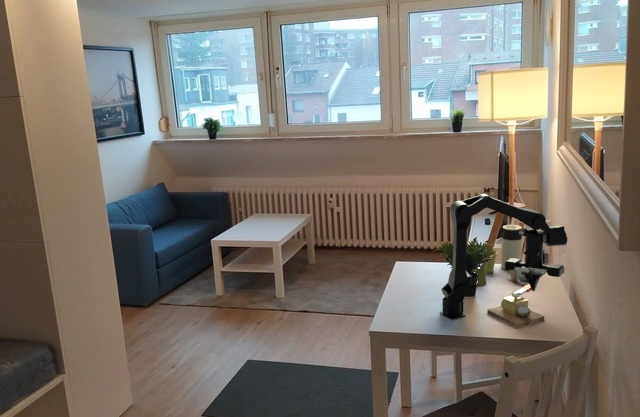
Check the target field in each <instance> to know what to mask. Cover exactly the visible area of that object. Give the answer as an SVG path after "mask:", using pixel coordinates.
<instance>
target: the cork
mask: <svg viewBox="0 0 640 417" xmlns="http://www.w3.org/2000/svg"><path fill="white" fill-rule="evenodd" d="M485 263H486V262H485ZM485 263H483V264H482V265H481V268H480V269H478V270H475V271H474V272H475V273H476V274H478V283H477V286H476V287H484V286H487V277H486V273H485V268H484V265H485Z"/></svg>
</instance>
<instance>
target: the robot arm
mask: <svg viewBox="0 0 640 417" xmlns="http://www.w3.org/2000/svg"><path fill="white" fill-rule="evenodd" d="M485 209H489V210H493V211H494V212H498V213H501V214H503V215H505V216H508V217H509V218H510V217H511V218H513V219H515V220H518V221H519V222H521V223H523V224H524V225H525V226H528V228H531V229H527V228H526V227H523V228H521V231H520V232H519V234H520V235H522V237H524V251H523V255H524V261H522V258H521V259H515V258H510V259H509V260H507V261H506V262H505V264H504V270H506V271H509V270H514V269H515V267H518V268H522V272H521V274H524V276H525V277H526V279H527V281H526V282H527V283H529V285H530V287H531V289H532V290H531V291H532V292H535V291H536V289H537V287H538V286H537V285H538V283H539V282H540V279H541V278H542V277H543V276H544V275H546V274H547V275H548V276H549V277H555V278H560V277H561V276H562V275H563V274H564V273H565V266H564V265H563V264H559V263H551V264H550V265H545V264H548V263H549V258H550V257H549V256H550V254H549V253H546V252H545V249H544V244H545V245H546V246H547V247H559V246H566V245H567V243H568V236H567V232H566V230H565V226H564V225H561V224H560V225H554V226H553V225H552V226H549V224H548V223H547V222H546V221H547V218H546V217H545V215H544V214H542V213H541V212H539V211H537V210H535V209H531V208H526V207H518V206H516V205H512V204H510V203H507V202H505V201H503V200H500V199H497V198H494V197H492V196H490V195H488V194H486V193H480V194H479V195H477V196H473V197H470V198H465V199H464V200H457V201H453V203H452V204H451V205H450V210H449V211H450V219H451V222H452V226H453V245H452V246H453V248H452V267H451V268H452V269H451V270H450V272H449V276H448V281H447V283H446V284H445V285H444V286H443V287H442V288H441V292H442V294H443V295H444V297H443V298H442V311H440V312H439V315H441V316H443V317H445V318H447V319H448V320H451V321H452V320H455V319H459V318H462V317H466V313H464V302H465V301H464V300H465V298H466V295H467V294H469V292H470V289H472V284H471V278H472V275H470V274H469V272H468V271H467V270H466V268H467V241H468V228H469V227H470V225H471V221H472V217H473V216H475V215H477V214H479V213H480V212H482V211H483V210H485ZM539 230H540V231H539ZM522 262H524V263H522Z"/></svg>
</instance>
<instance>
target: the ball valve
mask: <svg viewBox="0 0 640 417" xmlns="http://www.w3.org/2000/svg"><path fill="white" fill-rule="evenodd" d="M500 306H502V308H503V312H505V313H507V314H509V315H511V316H513V317H519V316H521V317H523V318H527V317H529V315H530V310H531V309H530V308H529V300H528V299H527V298H525V297H522V296H520V297H519V298H515V297H512V295H510V296H506V297H503V299H502V301H501V303H500Z"/></svg>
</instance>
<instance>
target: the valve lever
mask: <svg viewBox="0 0 640 417" xmlns="http://www.w3.org/2000/svg"><path fill="white" fill-rule="evenodd" d="M531 291H532V289H531V287H530V285H529V284H528V285H526V286H524V285H523V287H521V288H520V289H519V290H517V291H513V292H511V296H512V297H515V298H519V297H522V295H524V294H526V293H529V292H531Z"/></svg>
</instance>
